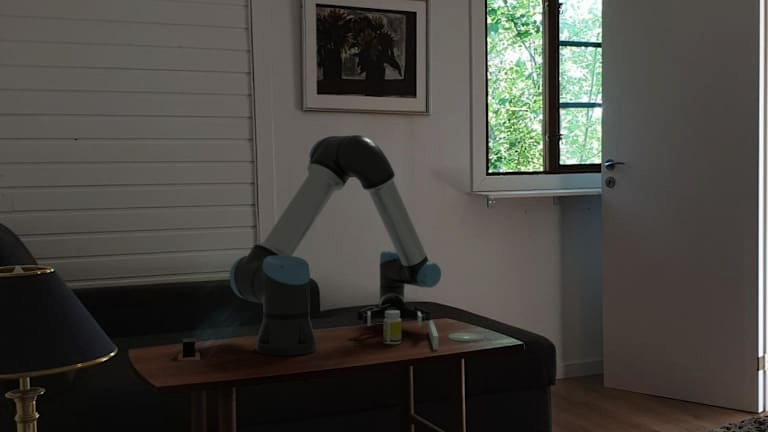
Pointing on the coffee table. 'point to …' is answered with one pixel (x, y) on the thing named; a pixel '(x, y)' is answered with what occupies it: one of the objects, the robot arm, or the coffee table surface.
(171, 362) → the coffee table surface
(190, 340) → the black block
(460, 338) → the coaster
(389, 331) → the supplement bottle
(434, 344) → the low wall
